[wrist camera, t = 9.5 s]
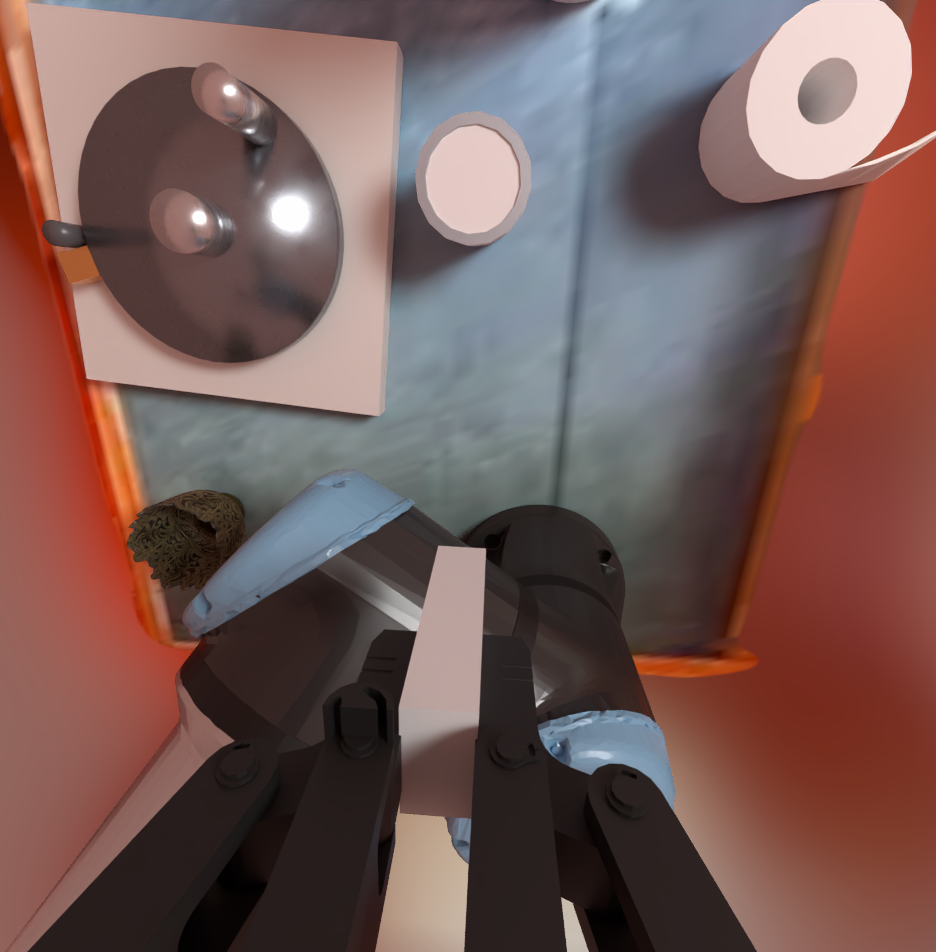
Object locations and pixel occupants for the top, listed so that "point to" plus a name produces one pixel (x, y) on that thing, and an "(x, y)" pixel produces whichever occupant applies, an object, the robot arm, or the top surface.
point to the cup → (188, 536)
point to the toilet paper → (810, 105)
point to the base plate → (330, 131)
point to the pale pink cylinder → (473, 178)
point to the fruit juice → (569, 1)
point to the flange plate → (246, 188)
